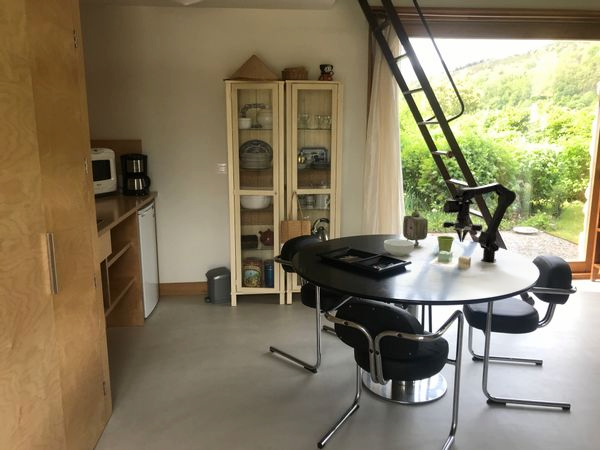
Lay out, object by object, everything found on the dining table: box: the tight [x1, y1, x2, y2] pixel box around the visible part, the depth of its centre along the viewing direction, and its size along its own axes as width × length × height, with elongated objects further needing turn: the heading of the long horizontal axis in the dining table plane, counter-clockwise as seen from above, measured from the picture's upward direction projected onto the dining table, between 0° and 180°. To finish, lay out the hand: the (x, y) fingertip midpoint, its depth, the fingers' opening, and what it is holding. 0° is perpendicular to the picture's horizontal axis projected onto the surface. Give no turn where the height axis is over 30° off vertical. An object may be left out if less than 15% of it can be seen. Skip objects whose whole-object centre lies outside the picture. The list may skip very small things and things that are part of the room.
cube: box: [457, 255, 472, 270], centre depth 245 cm, size 5×5×5 cm
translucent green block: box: [437, 251, 454, 262], centre depth 258 cm, size 6×6×4 cm
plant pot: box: [436, 235, 455, 253], centre depth 275 cm, size 9×9×9 cm
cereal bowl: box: [383, 238, 415, 257], centre depth 270 cm, size 17×17×7 cm
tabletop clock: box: [402, 203, 429, 248], centre depth 293 cm, size 14×9×25 cm, turn 17°
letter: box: [428, 256, 459, 268], centre depth 255 cm, size 18×13×1 cm
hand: (461, 242), depth 252 cm, fingers closed
